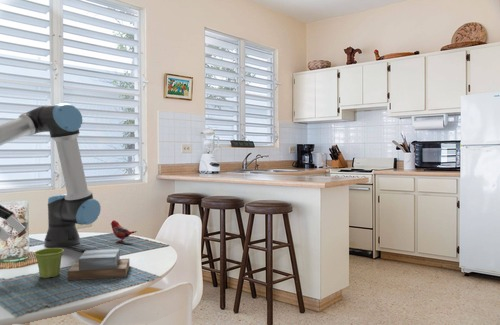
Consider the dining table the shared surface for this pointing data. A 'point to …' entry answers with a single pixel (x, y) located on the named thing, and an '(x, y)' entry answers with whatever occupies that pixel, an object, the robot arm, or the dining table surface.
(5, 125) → the robot arm
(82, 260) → the brick stand
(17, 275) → the dining table surface
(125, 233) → the decorative bird figurine
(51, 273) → the plant pot
